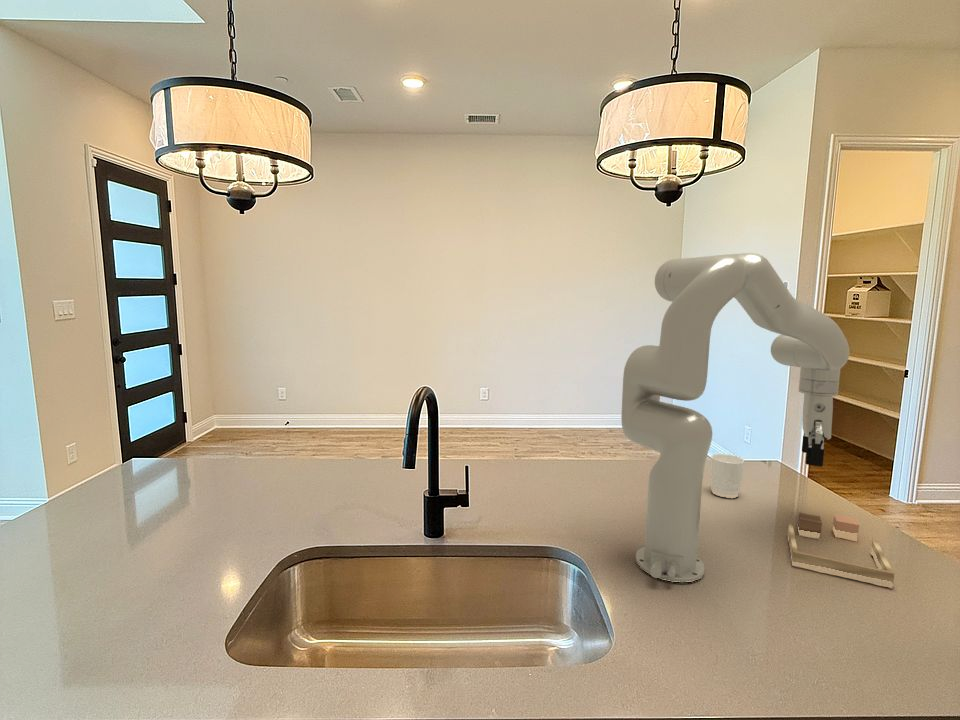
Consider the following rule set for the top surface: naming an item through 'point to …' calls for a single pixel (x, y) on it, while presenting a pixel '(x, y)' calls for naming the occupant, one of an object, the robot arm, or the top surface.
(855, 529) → the terracotta block
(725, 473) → the white cup
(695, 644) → the top surface
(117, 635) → the top surface
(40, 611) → the top surface
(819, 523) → the walnut block
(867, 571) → the tan u-shaped piece
